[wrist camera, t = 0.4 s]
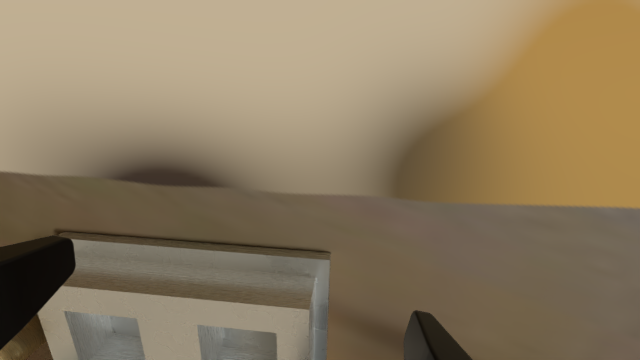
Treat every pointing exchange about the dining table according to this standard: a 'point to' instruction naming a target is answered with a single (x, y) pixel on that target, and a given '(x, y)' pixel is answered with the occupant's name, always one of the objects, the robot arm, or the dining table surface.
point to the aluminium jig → (188, 302)
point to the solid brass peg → (24, 341)
